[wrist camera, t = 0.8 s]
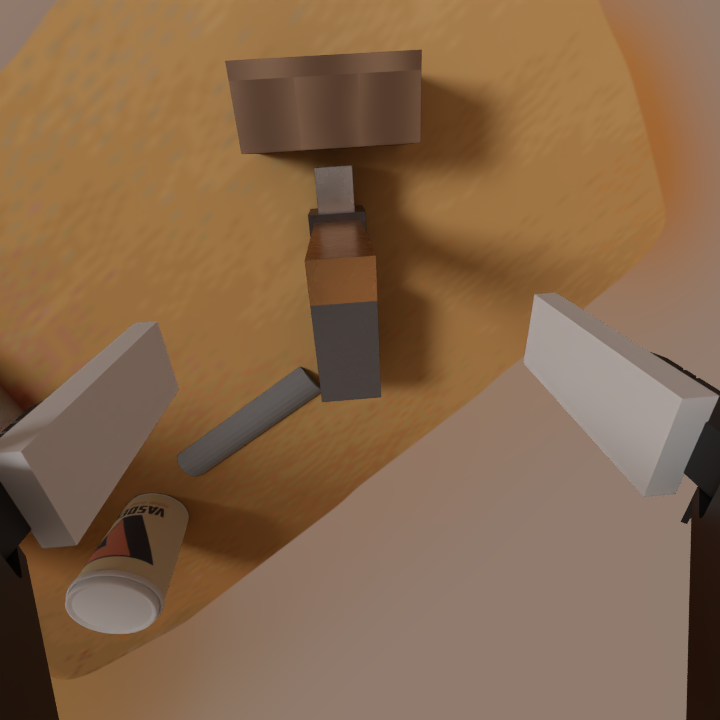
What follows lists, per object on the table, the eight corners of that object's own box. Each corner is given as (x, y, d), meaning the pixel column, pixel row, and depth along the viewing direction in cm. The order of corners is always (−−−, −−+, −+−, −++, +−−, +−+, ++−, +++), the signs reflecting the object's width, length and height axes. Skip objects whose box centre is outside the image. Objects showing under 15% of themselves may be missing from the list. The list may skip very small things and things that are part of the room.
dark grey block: (323, 371, 42) (322, 402, 37) (312, 281, 38) (309, 301, 32) (375, 367, 42) (381, 397, 37) (371, 276, 38) (377, 296, 33)
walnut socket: (258, 153, 32) (241, 153, 26) (247, 79, 30) (225, 61, 24) (403, 144, 33) (420, 142, 26) (403, 70, 30) (421, 49, 24)
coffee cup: (180, 482, 48) (137, 575, 38) (205, 532, 53) (173, 628, 42) (106, 494, 48) (42, 589, 38) (137, 543, 53) (88, 641, 42)
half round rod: (326, 387, 44) (326, 396, 42) (203, 472, 48) (199, 483, 47) (301, 361, 42) (300, 369, 41) (176, 452, 47) (171, 462, 45)
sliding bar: (328, 376, 41) (327, 491, 27) (306, 167, 32) (285, 178, 18) (370, 372, 42) (390, 486, 27) (359, 163, 32) (381, 172, 18)
